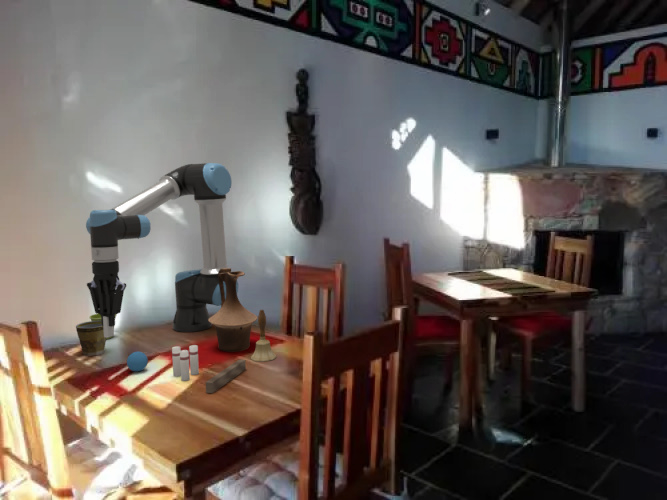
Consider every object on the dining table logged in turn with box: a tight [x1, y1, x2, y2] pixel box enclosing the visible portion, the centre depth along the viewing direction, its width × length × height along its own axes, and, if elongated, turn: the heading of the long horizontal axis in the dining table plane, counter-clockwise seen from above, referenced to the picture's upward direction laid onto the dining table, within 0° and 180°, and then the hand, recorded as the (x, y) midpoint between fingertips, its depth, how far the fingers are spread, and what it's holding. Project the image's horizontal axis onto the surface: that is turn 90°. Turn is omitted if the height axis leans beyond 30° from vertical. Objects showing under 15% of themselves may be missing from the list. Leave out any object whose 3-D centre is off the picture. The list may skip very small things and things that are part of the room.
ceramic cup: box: [75, 320, 107, 357], centre depth 182 cm, size 13×10×10 cm
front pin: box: [171, 345, 181, 378], centre depth 159 cm, size 2×2×8 cm
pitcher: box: [208, 267, 258, 353], centre depth 185 cm, size 18×17×28 cm
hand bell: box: [250, 309, 277, 363], centre depth 174 cm, size 8×8×16 cm
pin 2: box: [188, 344, 200, 376], centre depth 160 cm, size 2×2×8 cm
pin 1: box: [180, 349, 191, 382], centre depth 155 cm, size 2×2×8 cm
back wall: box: [205, 358, 247, 394], centre depth 154 cm, size 20×2×3 cm, turn 163°
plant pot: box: [89, 313, 118, 340], centre depth 200 cm, size 9×9×9 cm
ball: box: [126, 351, 149, 372], centre depth 163 cm, size 6×6×6 cm
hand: (109, 336), depth 165 cm, fingers closed
